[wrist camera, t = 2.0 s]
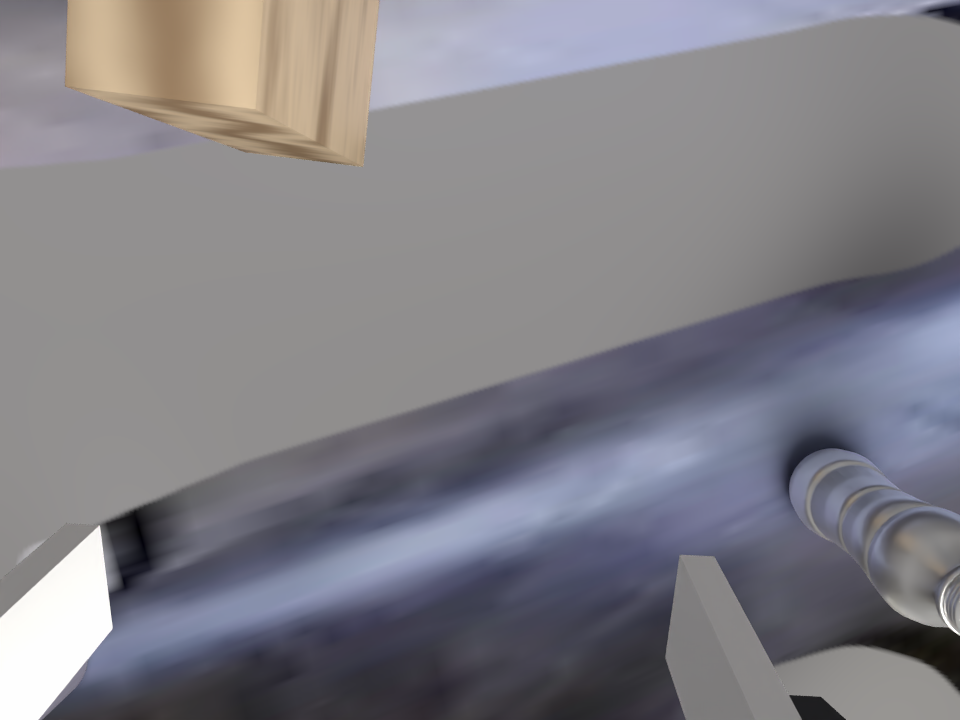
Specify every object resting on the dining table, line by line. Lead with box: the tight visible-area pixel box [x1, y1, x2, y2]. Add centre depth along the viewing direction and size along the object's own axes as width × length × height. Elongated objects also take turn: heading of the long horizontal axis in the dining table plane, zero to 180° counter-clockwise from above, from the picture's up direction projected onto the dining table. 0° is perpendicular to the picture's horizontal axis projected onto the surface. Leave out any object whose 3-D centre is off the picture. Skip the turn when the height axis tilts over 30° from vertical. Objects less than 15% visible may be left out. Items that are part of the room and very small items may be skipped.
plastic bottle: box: [789, 448, 960, 635], centre depth 43 cm, size 6×7×20 cm
